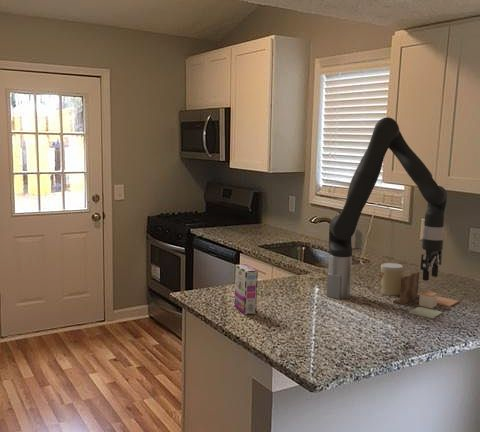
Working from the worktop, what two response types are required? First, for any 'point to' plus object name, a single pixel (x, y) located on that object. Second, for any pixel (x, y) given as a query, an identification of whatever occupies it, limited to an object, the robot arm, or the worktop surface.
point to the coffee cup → (391, 278)
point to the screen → (408, 288)
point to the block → (428, 299)
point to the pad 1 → (426, 312)
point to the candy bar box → (246, 289)
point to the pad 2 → (446, 301)
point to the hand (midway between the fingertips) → (430, 278)
